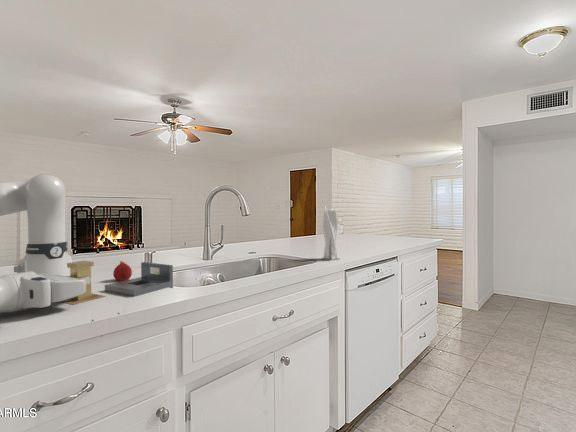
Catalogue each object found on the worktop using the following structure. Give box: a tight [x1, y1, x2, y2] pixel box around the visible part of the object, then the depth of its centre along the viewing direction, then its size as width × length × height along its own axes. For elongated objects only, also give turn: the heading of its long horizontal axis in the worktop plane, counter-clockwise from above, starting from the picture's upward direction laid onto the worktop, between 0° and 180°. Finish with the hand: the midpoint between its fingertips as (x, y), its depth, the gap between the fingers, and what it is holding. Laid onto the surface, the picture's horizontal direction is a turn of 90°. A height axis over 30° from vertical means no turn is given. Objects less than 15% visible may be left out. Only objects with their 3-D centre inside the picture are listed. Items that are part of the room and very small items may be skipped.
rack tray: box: [104, 261, 174, 297], centre depth 99 cm, size 14×14×8 cm
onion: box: [112, 260, 133, 282], centre depth 111 cm, size 6×6×8 cm
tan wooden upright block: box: [67, 260, 95, 301], centre depth 88 cm, size 5×5×10 cm
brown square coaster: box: [59, 292, 107, 306], centre depth 88 cm, size 9×9×1 cm
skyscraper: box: [320, 205, 341, 261], centre depth 163 cm, size 8×8×28 cm
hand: (84, 278), depth 89 cm, fingers closed on tan wooden upright block, 4 cm apart
